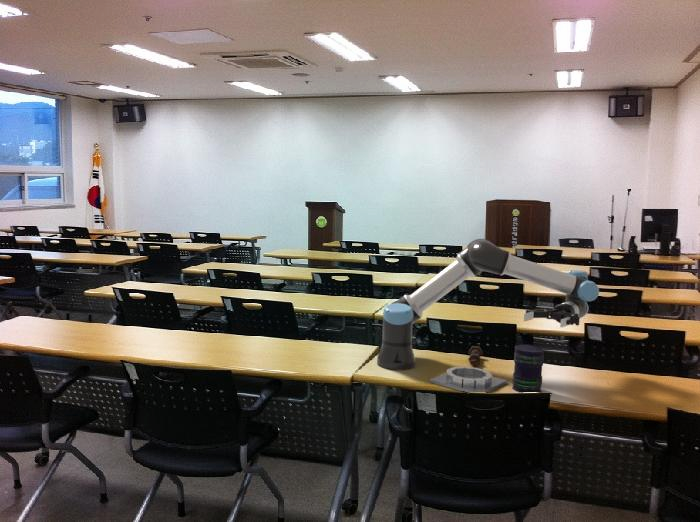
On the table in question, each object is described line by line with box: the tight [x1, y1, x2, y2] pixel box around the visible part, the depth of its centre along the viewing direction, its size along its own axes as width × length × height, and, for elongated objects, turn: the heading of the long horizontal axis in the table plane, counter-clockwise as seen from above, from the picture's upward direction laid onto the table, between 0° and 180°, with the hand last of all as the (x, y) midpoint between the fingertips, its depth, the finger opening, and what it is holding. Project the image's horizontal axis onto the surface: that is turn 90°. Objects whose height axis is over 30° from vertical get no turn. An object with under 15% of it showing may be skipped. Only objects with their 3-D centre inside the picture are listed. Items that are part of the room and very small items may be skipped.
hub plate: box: [429, 366, 508, 393], centre depth 206 cm, size 20×20×4 cm
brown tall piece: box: [468, 345, 484, 367], centre depth 232 cm, size 6×5×15 cm
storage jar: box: [512, 344, 545, 393], centre depth 200 cm, size 10×10×15 cm
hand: (542, 320), depth 205 cm, fingers open, 13 cm apart
